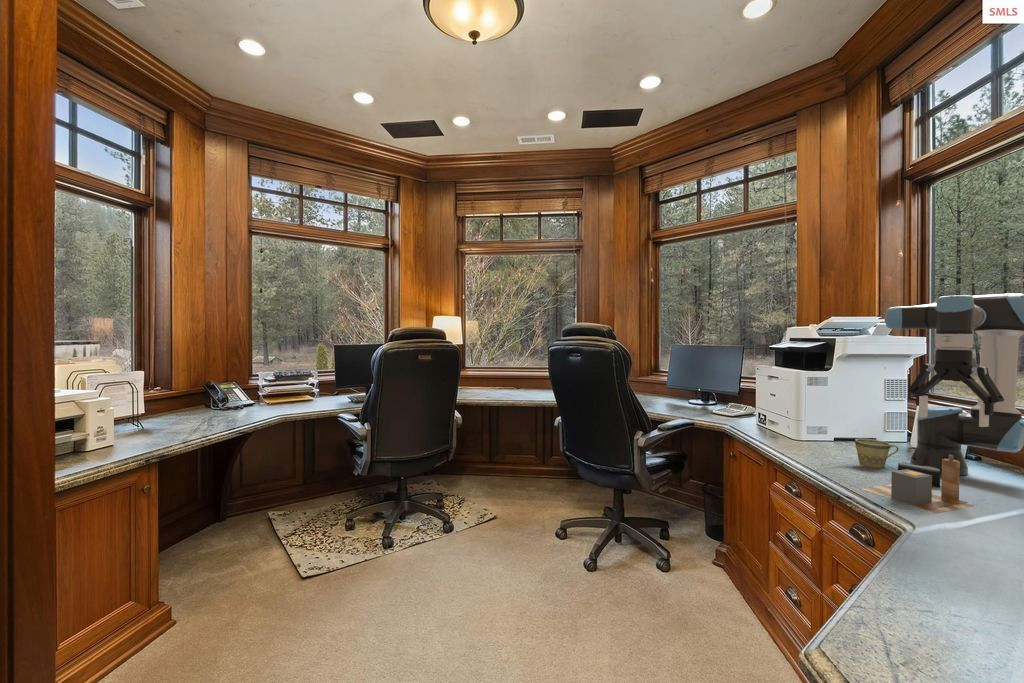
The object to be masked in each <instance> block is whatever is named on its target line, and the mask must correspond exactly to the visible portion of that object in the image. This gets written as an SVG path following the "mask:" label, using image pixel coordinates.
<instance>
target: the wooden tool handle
mask: <svg viewBox="0 0 1024 683" xmlns="http://www.w3.org/2000/svg"><path fill="white" fill-rule="evenodd" d="M960 476H961V475H960V462H959V461H957V460H953V455H949V456H948V459H942V474H941V484H940V488H941V491H940V492H941V494H940V495H941V500H942V501H944V502H948V503H953V504H959V500H960Z"/></svg>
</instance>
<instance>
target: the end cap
mask: <svg viewBox="0 0 1024 683" xmlns="http://www.w3.org/2000/svg"><path fill="white" fill-rule="evenodd" d="M905 469H909V470H913V471H916V472H920V473H924V474H928V475H932V487H937V488H941V473H940V469H937V468H935V467H929V466H918V465H913V464H911V463H909V462H906V461H905V462H903V461H902V462H898V464H897V471H898V470H905Z"/></svg>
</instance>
